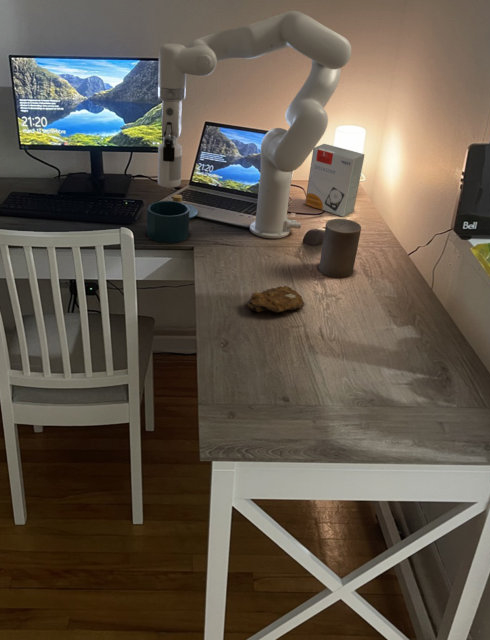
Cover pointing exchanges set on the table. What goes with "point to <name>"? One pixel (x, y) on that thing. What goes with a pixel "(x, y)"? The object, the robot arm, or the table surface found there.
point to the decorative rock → (276, 300)
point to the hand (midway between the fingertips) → (169, 156)
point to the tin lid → (192, 209)
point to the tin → (168, 221)
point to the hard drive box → (334, 179)
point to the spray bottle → (170, 166)
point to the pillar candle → (339, 247)
